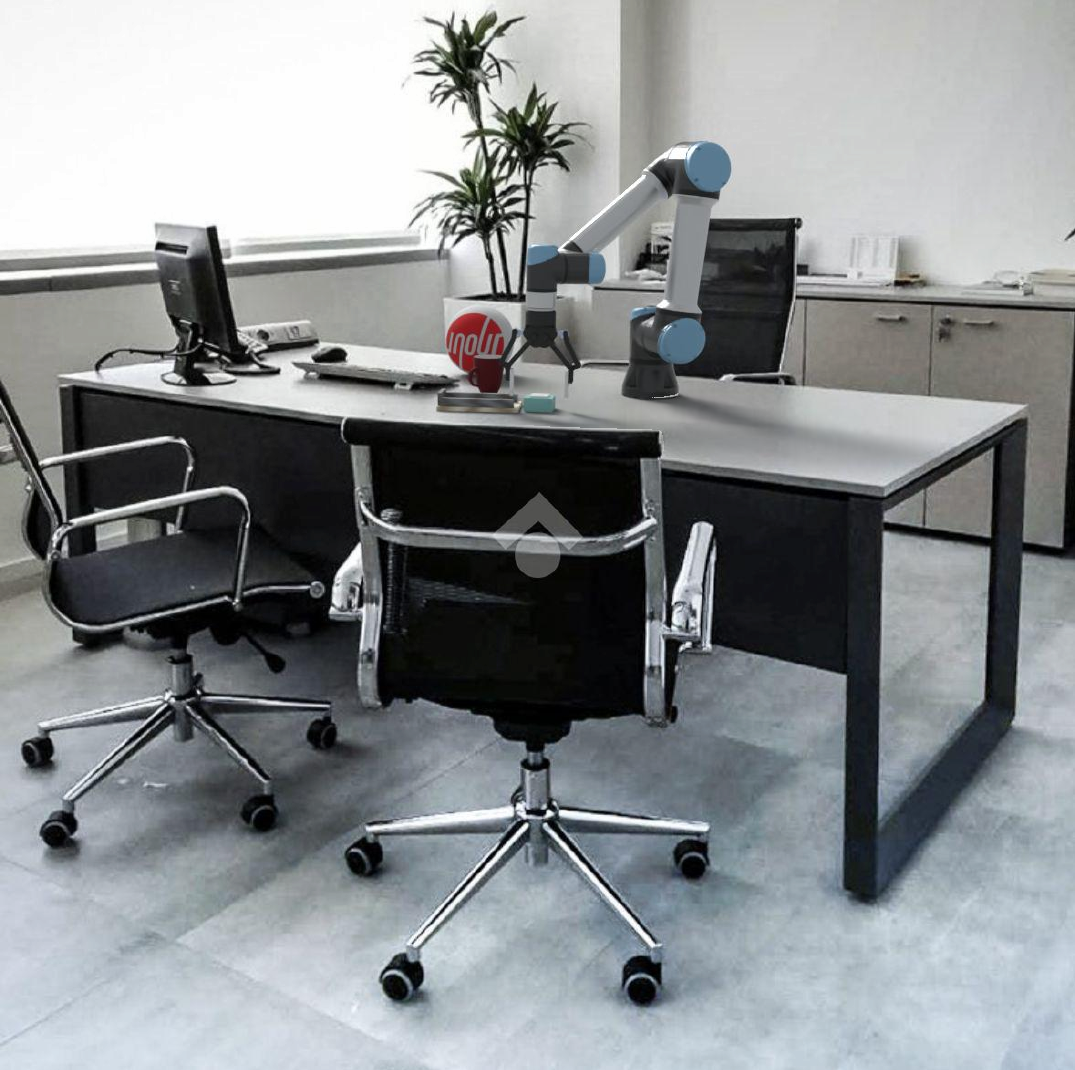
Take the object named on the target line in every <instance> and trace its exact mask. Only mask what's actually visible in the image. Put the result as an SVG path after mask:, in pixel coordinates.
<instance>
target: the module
mask: <svg viewBox="0 0 1075 1070" xmlns="http://www.w3.org/2000/svg"><path fill="white" fill-rule="evenodd" d="M555 409H556V394H551V393H540V392H539V393H538V392H537V393H536V392H533V393H527V394H526V395H525V396H524V397H523V412H526V413H527V412H530V413H531V412H532V413H551V414H552V413H553V412H554V411H555Z"/></svg>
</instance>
